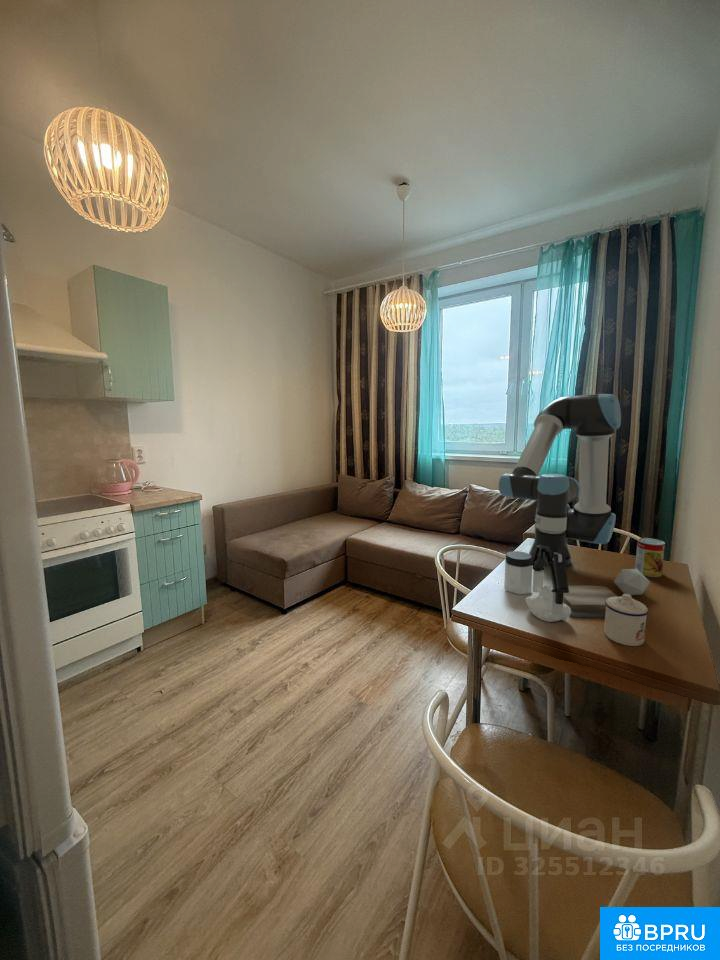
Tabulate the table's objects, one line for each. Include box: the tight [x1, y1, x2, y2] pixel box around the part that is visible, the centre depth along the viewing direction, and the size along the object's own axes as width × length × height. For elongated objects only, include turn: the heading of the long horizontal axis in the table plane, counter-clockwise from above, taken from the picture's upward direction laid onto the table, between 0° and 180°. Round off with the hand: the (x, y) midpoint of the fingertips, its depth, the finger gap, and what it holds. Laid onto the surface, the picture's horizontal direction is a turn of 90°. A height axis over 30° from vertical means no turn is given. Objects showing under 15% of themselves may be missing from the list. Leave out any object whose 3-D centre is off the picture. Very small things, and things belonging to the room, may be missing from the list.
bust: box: [524, 585, 571, 623], centre depth 109 cm, size 12×8×11 cm
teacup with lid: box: [603, 593, 649, 647], centre depth 100 cm, size 12×9×12 cm
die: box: [613, 568, 650, 596], centre depth 123 cm, size 8×9×10 cm
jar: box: [503, 550, 533, 595], centre depth 128 cm, size 9×8×12 cm
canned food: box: [634, 537, 666, 578], centre depth 138 cm, size 8×8×12 cm
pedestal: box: [552, 585, 619, 618], centre depth 117 cm, size 16×18×3 cm
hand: (546, 602), depth 109 cm, fingers open, 13 cm apart
